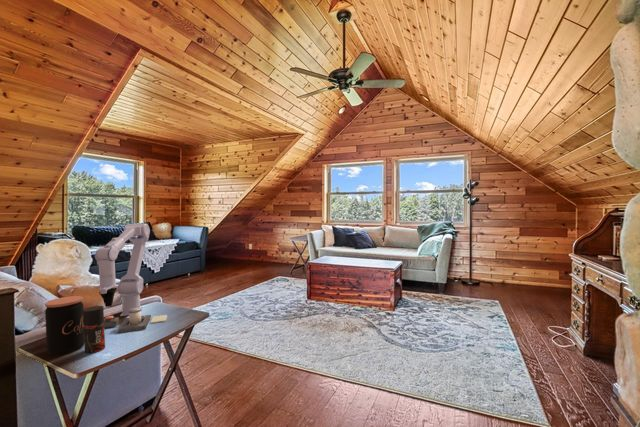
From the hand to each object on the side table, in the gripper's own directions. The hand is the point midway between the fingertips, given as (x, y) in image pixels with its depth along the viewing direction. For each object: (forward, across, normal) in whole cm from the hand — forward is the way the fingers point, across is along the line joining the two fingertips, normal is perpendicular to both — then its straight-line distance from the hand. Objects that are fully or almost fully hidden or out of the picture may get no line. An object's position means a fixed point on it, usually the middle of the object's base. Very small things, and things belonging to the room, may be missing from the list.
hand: (108, 306), depth 133 cm
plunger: (+8, 0, 0) cm, 8 cm away
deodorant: (+9, +25, +2) cm, 27 cm away
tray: (+9, +1, +20) cm, 21 cm away
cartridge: (+9, +4, +10) cm, 14 cm away
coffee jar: (+9, +20, -8) cm, 23 cm away
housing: (+9, +4, +10) cm, 14 cm away
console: (+9, 0, 0) cm, 9 cm away
